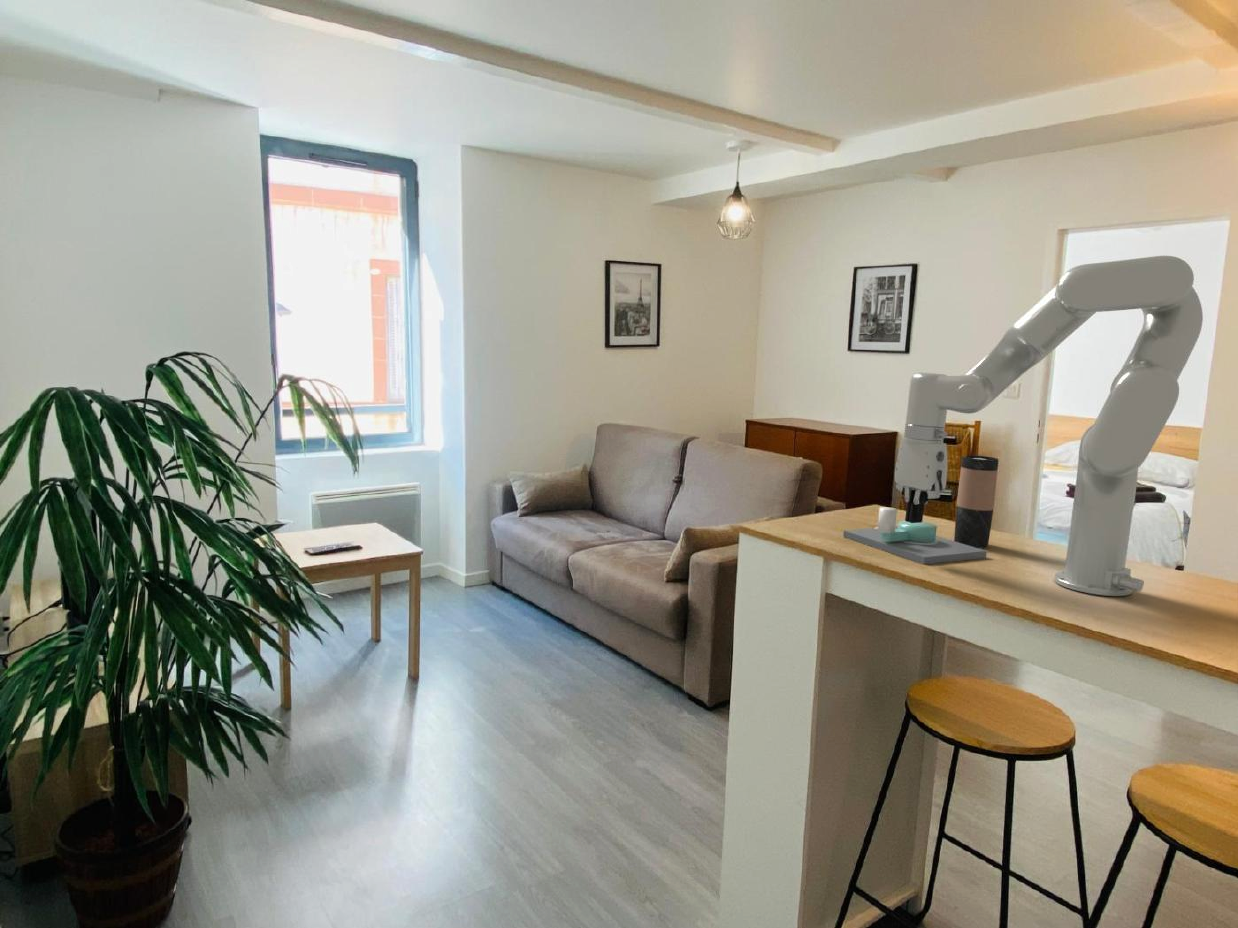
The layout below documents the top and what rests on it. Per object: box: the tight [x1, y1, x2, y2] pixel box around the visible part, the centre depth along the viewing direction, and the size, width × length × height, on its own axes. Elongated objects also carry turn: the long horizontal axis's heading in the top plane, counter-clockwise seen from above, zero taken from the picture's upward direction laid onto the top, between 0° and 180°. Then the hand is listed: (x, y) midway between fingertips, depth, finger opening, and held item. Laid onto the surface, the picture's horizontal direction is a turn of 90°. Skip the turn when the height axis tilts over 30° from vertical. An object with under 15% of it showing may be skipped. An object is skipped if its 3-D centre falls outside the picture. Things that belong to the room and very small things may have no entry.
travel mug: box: [953, 454, 999, 549], centre depth 176 cm, size 8×8×20 cm
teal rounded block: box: [877, 506, 938, 542], centre depth 171 cm, size 15×8×7 cm, turn 115°
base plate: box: [843, 525, 988, 565], centre depth 173 cm, size 24×18×2 cm
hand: (913, 521), depth 161 cm, fingers closed
